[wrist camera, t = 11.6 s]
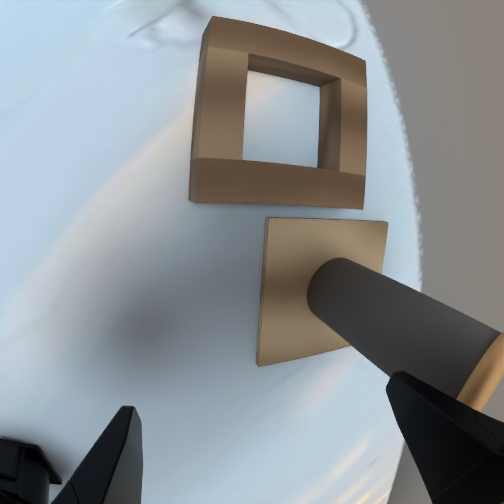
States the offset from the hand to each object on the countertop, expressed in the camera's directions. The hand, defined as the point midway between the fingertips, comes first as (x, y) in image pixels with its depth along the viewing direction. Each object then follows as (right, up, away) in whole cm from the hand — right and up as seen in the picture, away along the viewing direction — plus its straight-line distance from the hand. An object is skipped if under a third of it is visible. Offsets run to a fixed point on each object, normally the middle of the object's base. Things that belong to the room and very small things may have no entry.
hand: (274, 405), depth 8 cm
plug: (+6, +2, +13) cm, 14 cm away
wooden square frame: (+1, +14, +9) cm, 16 cm away
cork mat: (+5, +2, +13) cm, 15 cm away
